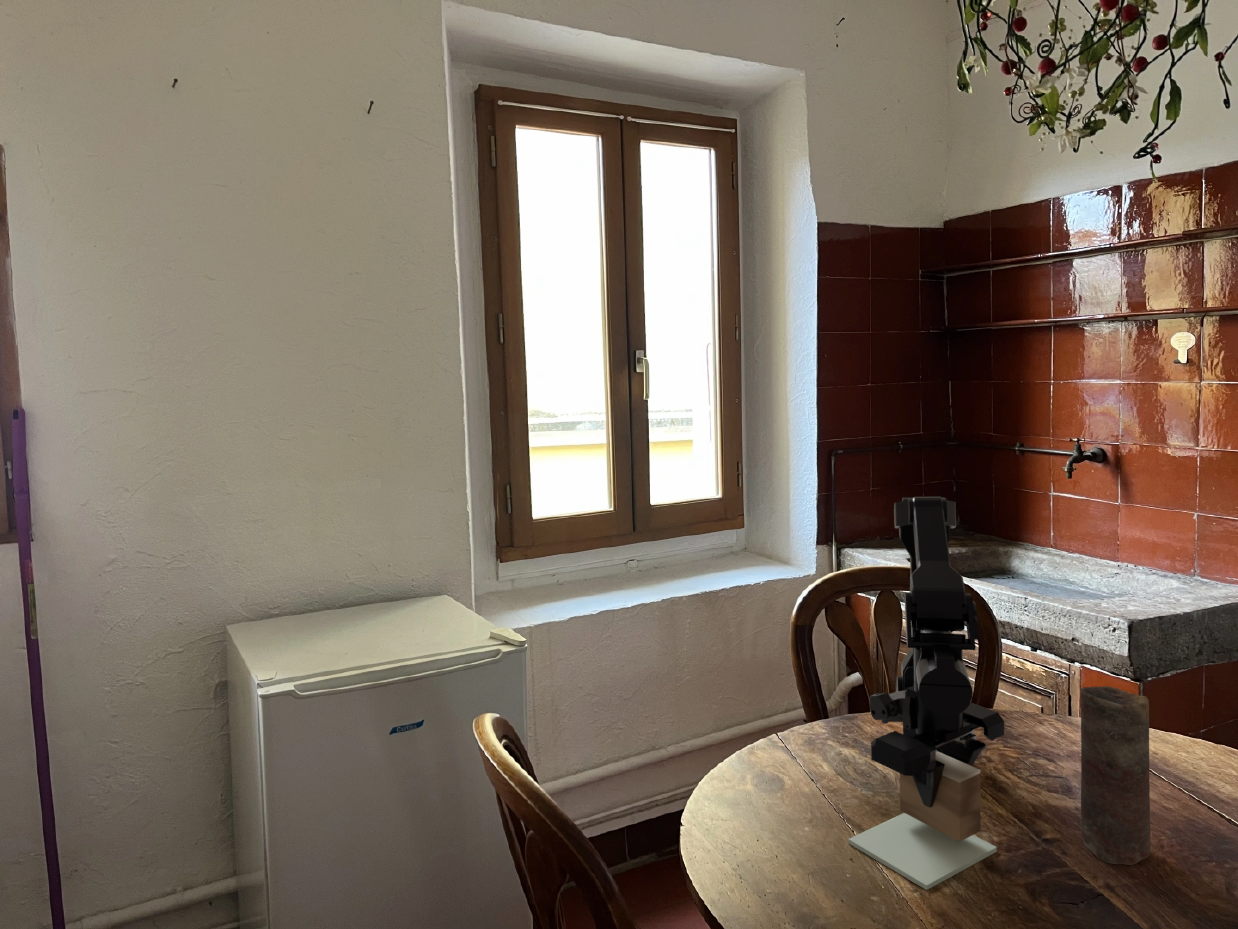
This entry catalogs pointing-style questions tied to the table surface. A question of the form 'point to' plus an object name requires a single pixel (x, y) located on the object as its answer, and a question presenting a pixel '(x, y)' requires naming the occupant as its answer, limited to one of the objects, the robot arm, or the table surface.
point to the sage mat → (920, 850)
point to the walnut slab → (947, 800)
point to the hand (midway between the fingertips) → (939, 800)
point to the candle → (1115, 774)
